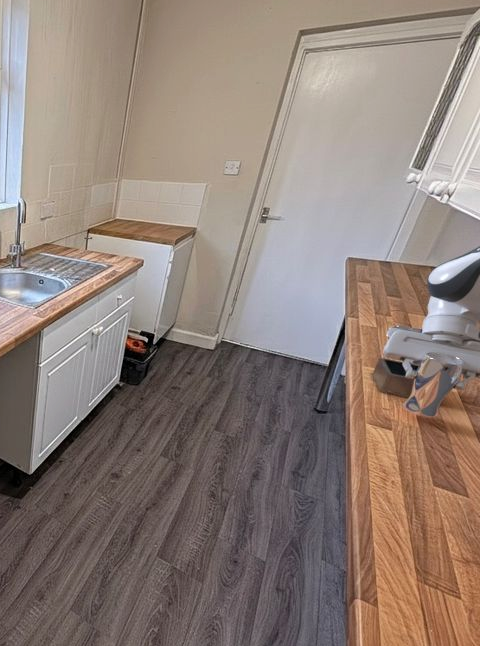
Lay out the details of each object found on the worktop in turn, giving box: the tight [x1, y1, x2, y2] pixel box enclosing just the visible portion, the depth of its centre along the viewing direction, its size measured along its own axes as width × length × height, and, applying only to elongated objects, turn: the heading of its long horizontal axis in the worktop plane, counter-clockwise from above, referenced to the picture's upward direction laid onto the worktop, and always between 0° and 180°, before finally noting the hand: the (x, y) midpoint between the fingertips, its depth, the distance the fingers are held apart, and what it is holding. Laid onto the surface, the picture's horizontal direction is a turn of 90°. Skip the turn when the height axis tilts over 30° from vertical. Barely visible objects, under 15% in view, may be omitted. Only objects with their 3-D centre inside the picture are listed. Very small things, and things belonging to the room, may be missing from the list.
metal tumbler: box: [402, 352, 466, 419], centre depth 101 cm, size 7×7×15 cm
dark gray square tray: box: [372, 357, 419, 399], centre depth 116 cm, size 12×12×6 cm
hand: (434, 383), depth 100 cm, fingers closed on metal tumbler, 7 cm apart
